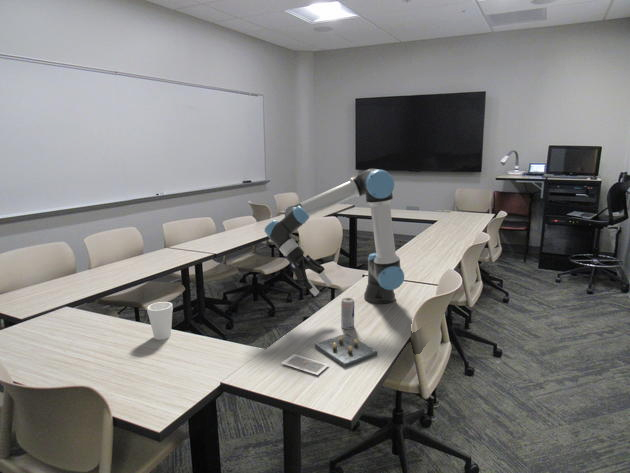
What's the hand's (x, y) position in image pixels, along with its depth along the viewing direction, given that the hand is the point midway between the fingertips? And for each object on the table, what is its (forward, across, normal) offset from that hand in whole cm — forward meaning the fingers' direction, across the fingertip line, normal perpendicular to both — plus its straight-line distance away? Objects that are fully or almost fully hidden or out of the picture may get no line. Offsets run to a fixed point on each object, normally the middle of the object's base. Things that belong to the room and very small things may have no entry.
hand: (324, 289), depth 176 cm
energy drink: (+18, 0, -3) cm, 19 cm away
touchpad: (+17, +36, -5) cm, 40 cm away
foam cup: (-28, +39, -49) cm, 68 cm away
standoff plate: (+23, +20, +2) cm, 31 cm away
